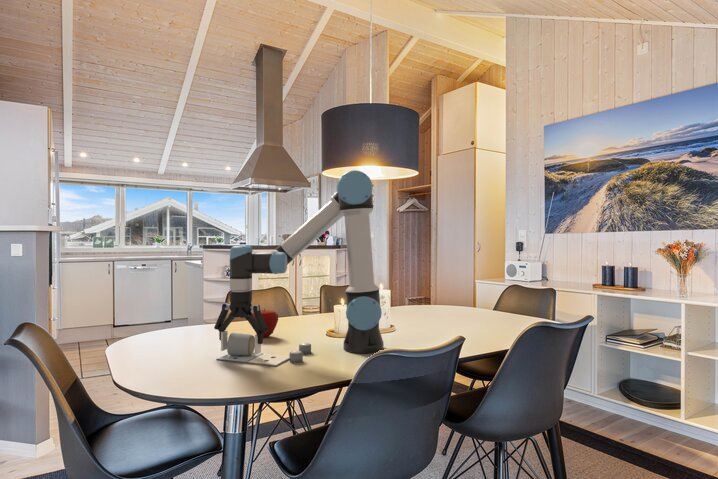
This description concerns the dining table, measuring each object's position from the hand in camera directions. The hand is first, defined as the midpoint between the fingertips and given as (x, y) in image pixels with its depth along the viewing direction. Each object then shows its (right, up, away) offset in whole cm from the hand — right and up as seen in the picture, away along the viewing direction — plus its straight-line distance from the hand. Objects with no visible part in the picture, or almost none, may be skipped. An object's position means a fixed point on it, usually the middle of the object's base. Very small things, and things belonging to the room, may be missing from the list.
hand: (240, 351), depth 154 cm
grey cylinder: (0, -2, +2) cm, 3 cm away
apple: (+2, -2, +31) cm, 32 cm away
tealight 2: (+22, -2, +7) cm, 23 cm away
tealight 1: (+20, -2, -4) cm, 20 cm away
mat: (+5, -2, -2) cm, 6 cm away
